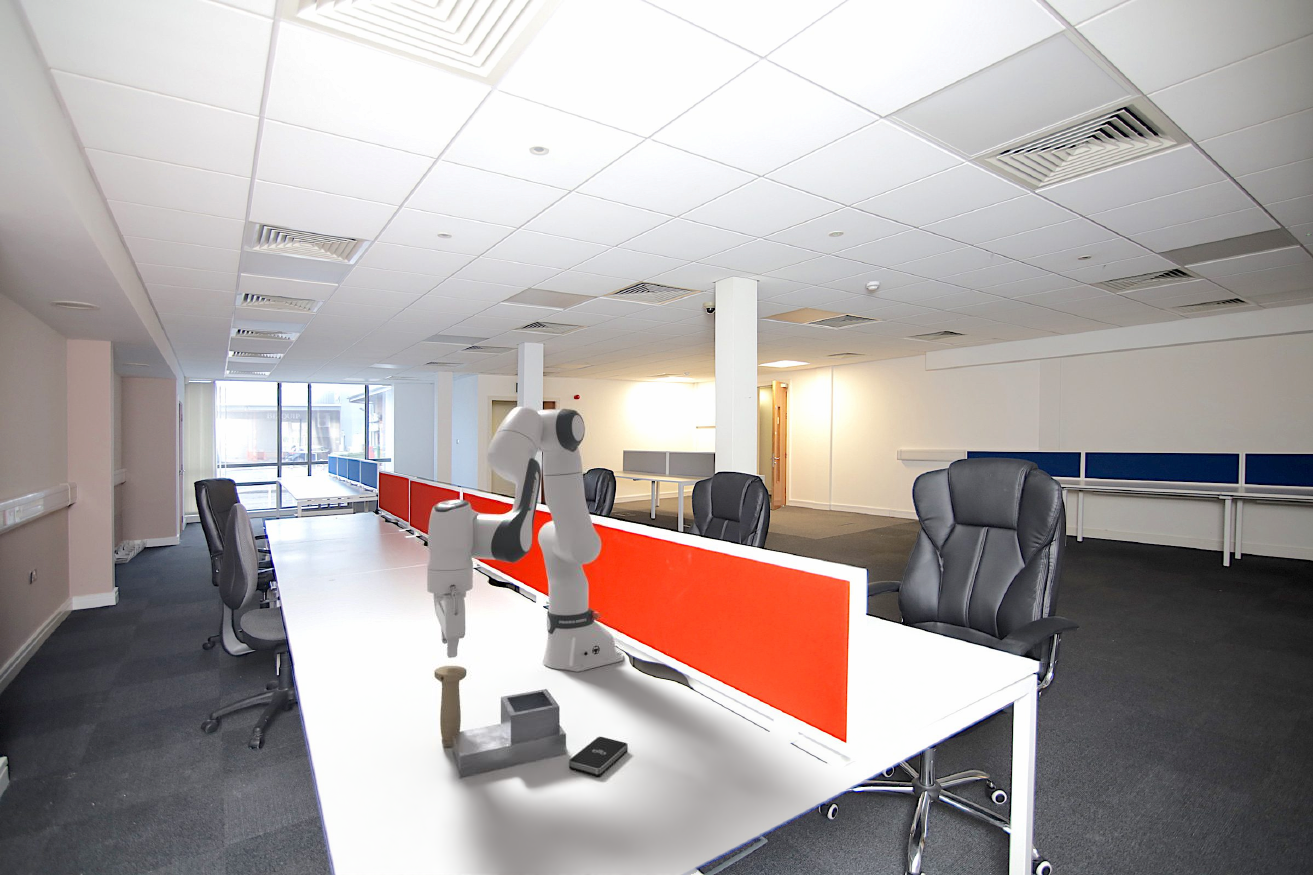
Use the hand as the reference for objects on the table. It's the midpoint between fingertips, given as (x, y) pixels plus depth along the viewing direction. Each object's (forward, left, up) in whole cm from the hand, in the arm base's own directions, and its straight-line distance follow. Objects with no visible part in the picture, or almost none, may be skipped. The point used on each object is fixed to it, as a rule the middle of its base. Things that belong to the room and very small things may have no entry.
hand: (449, 649), depth 125 cm
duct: (-10, +9, -19) cm, 24 cm away
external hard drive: (-25, +19, -20) cm, 37 cm away
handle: (0, 0, -20) cm, 20 cm away
